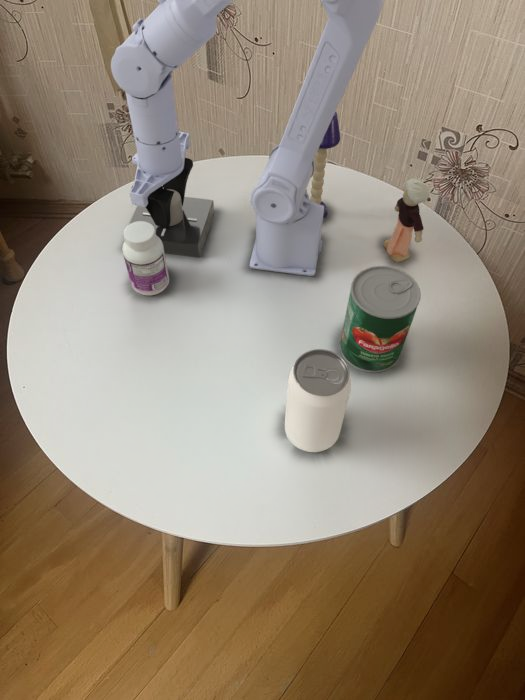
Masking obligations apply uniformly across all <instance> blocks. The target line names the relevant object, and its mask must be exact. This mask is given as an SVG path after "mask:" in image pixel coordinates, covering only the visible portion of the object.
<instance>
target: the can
mask: <svg viewBox="0 0 525 700" xmlns="http://www.w3.org/2000/svg"><path fill="white" fill-rule="evenodd" d="M348 365H349V364H348V363H347V361H346V360H345V359H344V358H343V356H342V355H340V354H338V353H336V352H334V351H333V350H332V351H331V350H328V349H324V348H315V349H311V350H308V351H305V352H303V353H302V354H300V355H299V356H298V357H297V359H296V360H295V362H294V364H293V366H292V367H291V369H290V371H289V374H288V380H287V381H288V382H287V391H286V402H285V414H284V432H285V435H286V437H287V439H288V441H289V442H290V443H291V444H292V445H293V446H295V448H296V449H299V450H301V451H303V452H309V453H320V452H324V451H326V450H328V449H330V448H331V447H333V445H335V444H336V443H337V441H338V440H339V437H340V435H341V430H342V426H343V422H344V419H345V415H346V411H347V408H348V402H349V399H350V393H351V389H352V377H351V374H350V368H349V366H348Z"/></svg>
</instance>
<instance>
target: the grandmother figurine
mask: <svg viewBox="0 0 525 700" xmlns="http://www.w3.org/2000/svg"><path fill="white" fill-rule="evenodd" d="M404 187H405V190H403V194H402V197H400V198H399V199H398V200H397V202H396V204H395V205H394V212H397V213H398V214H397V215H398V217H397V223H396V226H395V228H394V231H393V233H392V234H391V237H390V238H388V239H386V240H384V242H383V247H384V248H385V249H386V253H387V254H388V255H389V256H390V258H391V260H392V261H394V262H396V263H401V262H404V261H405V260H408V259H409V258H410V253H409V249H410V245H411V241H412V238H413V232H414V238H413V239H414V242H415V243H421V242H423V241H422V240H423V231H424V225H423V220H422V217H421V214H420V204H422V203H424V202H425V203H426V202H427V200H428V199H429V197H430V192H429V189H428V186H427V185H426V184H425V182H423V180H420V179H417V178H410V179H408V180H407V181H406V182H405V184H404Z"/></svg>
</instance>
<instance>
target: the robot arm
mask: <svg viewBox="0 0 525 700" xmlns="http://www.w3.org/2000/svg"><path fill="white" fill-rule="evenodd" d="M156 1H157V2H158V3H159V4H158V5H157V7H155V9H154V10H153V11H152V12H151V13H150V14H149V15H148V16H147V17H146V18H145V19H143V18H142V17H140V18H138V20H137V21H136V22H135V23H134V24H133V25H132V30H133V32H132V33H131V34H129V36H128V37H127V38H126V39H125V40H124V41H123V43H122V44H121V45H119V46H117V47H116V49H115V50H114V51H115V52H114V54H113V55H112V57H111V60H110V71H111V74H112V77H113V79H114V81H115V83H116V84H117V85H118V86H119V88H120V89H121V90H123V91H124V92H125V97H126V103H127V108H128V112H129V117H130V124H131V128H132V134H133V138H134V144H135V149H136V153H135V154H134V155H133V156H132V157H131V162H132V164H133V165H136V171H135V176H134V180H133V184H132V186H131V188H130V190H129V192H128V193H129V198H130V202H131V205H134V206H140V207H145V208H146V209H147V210H148V212H149V214H150V215H151V217H152V219H153V221H154V223H155V225H157V226H161V227H165V228H168V227H169V225H170V205H171V200H172V196H173V194H174V191H170V190H166V189H171V190H175V191H177V192H178V193H179V194H180V196H181V203H182V206H183V202H184V197H186V196H185V195H186V189H187V183H188V179H189V176H190V173H191V171H192V168H193V167H194V161H193V159H191V158H189V157H186V153H187V150H188V149H189V148H190V147H192V144H191V143H192V142H191V136H190V135H191V134H190V133H188V132H185V131H180V130H179V125H178V116H177V109H176V108H177V107H176V101H175V100H176V99H175V94H174V85H173V77H172V76H173V75H172V74H173V71H176V70H177V69H179V68H180V67H181V66H182V65H183V64H184V63H185V62H187V61H188V60H189V59H190V58H191V57H192V56H193V55H194V54H196V53H197V52H198V51H199V50H200V49H201V48H202V47H203V46H204V45H205V44H207V43H208V42H209V41H210V40H211V39H212V38H214V36H215V34H216V32H217V28H218V27H217V26H218V15H219V14H220V13H221V12H222V11H223V10H224V9H226V8H227V7H228V5H230V4H231V3H232V2H233V1H234V0H156ZM319 1H320V3H321V5H322V7H323V9H324V10H325V12H326V15H327V21H326V23H325V25H324V28H323V31H322V33H321V36H320V39H319V42H318V44H317V47H316V49H315V52H314V54H313V57H312V59H311V63H310V65H309V68H308V70H307V73H306V75H305V78H304V81H303V83H302V85H301V87H300V91H299V94H298V95H297V98H296V101H295V104H294V106H293V109H292V111H291V114H290V116H289V119H288V122H287V124H286V127H285V129H284V131H283V134H282V137H281V140H280V142H279V143H278V144H277V145H276V146H274V147H273V148H272V150H271V152H270V153H269V156H268V161H267V163H266V165H265V166H264V168H263V171H262V173H261V175H260V177H259V179H258V182H257V184H256V185H255V186H254V188H253V189H252V191H251V193H250V205H251V207H252V209H253V211H254V212H255V240H254V244H253V249H252V252H251V257H250V261H249V266H248V267H249V268H250V269H253V270H261V271H269V272H275V273H276V272H277V273H285V274H291V275H300V276H306V277H307V276H308V277H314V276H316V271H317V265H318V259H319V254H321V253H322V248H323V240H322V231H323V222H324V219H323V215H324V206H323V205H320V204H317V203H314V202H312V201H310V197H309V192H308V190H307V188H308V186H309V183H310V181H311V179H312V178H313V173H314V170H315V161H314V160H315V155H316V153H317V151H318V148H319V146H320V144H321V142H322V140H323V138H324V135H325V133H326V131H327V129H328V127H329V125H330V122H331V120H332V118H333V116H334V114H335V112H336V113H337V109H338V107H339V105H340V103H341V101H342V98H343V96H344V94H345V92H346V90H347V87H348V86H349V83H350V81H351V79H352V76H353V75H354V73H355V70H356V68H357V66H358V64H359V62H360V59H361V57H362V56H363V53H364V51H365V48H366V46H367V44H368V42H369V40H370V38H371V36H372V33H373V31H374V30H375V27H376V24H377V22H378V20H379V18H380V16H381V12H382V10H383V6H384V4H385V0H319Z"/></svg>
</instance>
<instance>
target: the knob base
mask: <svg viewBox="0 0 525 700" xmlns="http://www.w3.org/2000/svg"><path fill="white" fill-rule="evenodd" d="M136 206H137V205H136ZM182 210H183V219H182V221H181V222H180V223H178V224H176V225H173V226H169V227H168V228H165V227H161V226H157V225H155V223H154V221H153V219H152V217H151V215H150V214H149V212H148V210H147V209H146V208H145V207H140V206H137V207H136V209H135V211H134V213H133V214H132V217H131V219H130V221H129V223H128V225H129V224H131V223H133V222H137V221H145V222H148V223H150V224H152V225H153V227H154V229H155V233H156V235H157V236H158V237H159V238H160V239H161V241H162V243H163V247H164V253H165V254H168V255H169V254H170V255H176V256H185V257H192V258H200V257H201V254H202V251H203V249H204V245H205V242H206V239H207V237H208V233H209V230H210V227H211V224H212V221H213V218H214V215H215V205H214V199H208V198H200V197H190V196H184V202H183V206H182Z"/></svg>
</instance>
